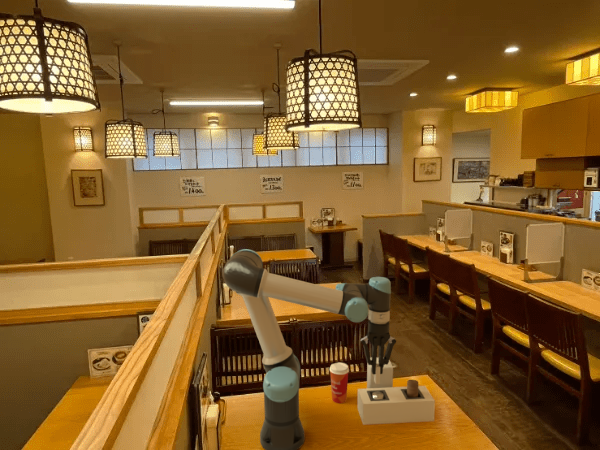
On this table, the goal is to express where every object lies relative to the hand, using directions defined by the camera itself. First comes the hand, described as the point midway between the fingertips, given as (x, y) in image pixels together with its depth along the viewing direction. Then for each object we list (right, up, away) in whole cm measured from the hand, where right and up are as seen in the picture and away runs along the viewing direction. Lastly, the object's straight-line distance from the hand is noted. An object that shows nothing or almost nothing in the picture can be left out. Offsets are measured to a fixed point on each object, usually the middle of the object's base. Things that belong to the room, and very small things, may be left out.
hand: (376, 381), depth 151 cm
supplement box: (+4, -12, +14) cm, 18 cm away
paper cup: (-12, -12, +13) cm, 21 cm away
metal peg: (+1, -13, +2) cm, 13 cm away
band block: (+7, -13, +2) cm, 15 cm away
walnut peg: (+14, -8, +2) cm, 16 cm away
